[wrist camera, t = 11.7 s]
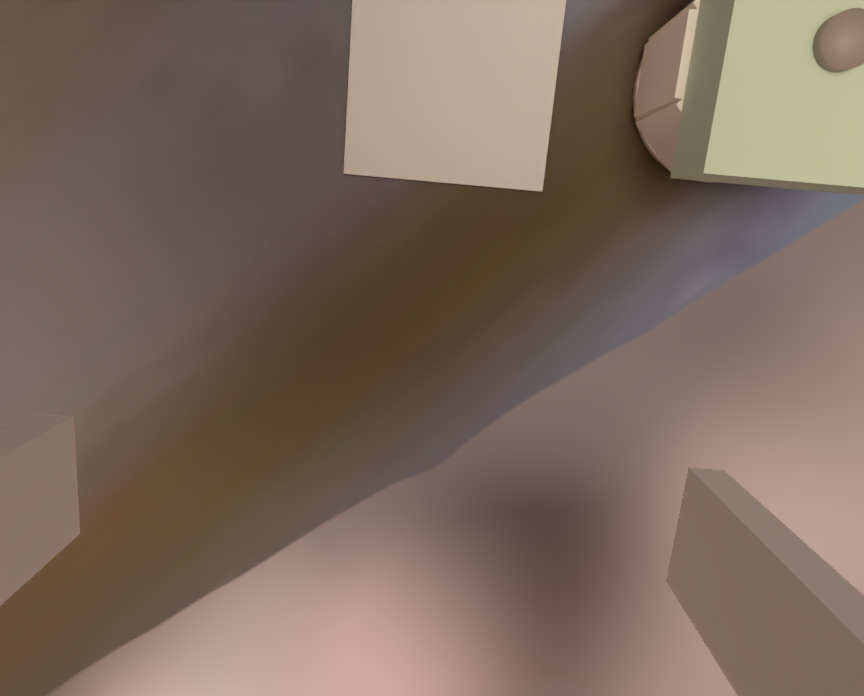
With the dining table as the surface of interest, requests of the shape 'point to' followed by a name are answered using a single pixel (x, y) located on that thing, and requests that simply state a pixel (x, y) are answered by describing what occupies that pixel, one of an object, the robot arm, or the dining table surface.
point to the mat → (452, 90)
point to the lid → (775, 96)
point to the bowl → (664, 84)
